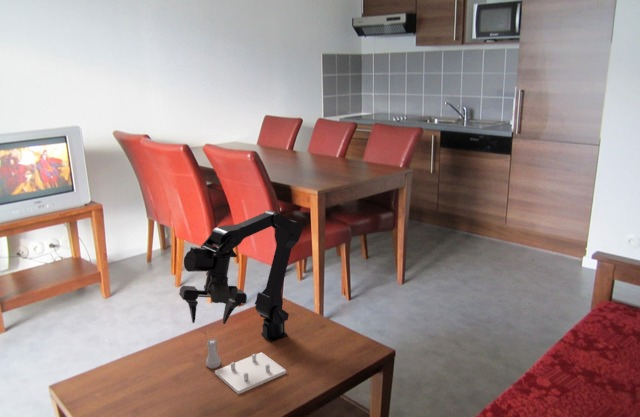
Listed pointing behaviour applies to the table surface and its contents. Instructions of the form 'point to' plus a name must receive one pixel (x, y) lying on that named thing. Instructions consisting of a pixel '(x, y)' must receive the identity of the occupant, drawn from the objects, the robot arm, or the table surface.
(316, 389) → the table surface
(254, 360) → the peg board
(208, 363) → the rook chess piece
